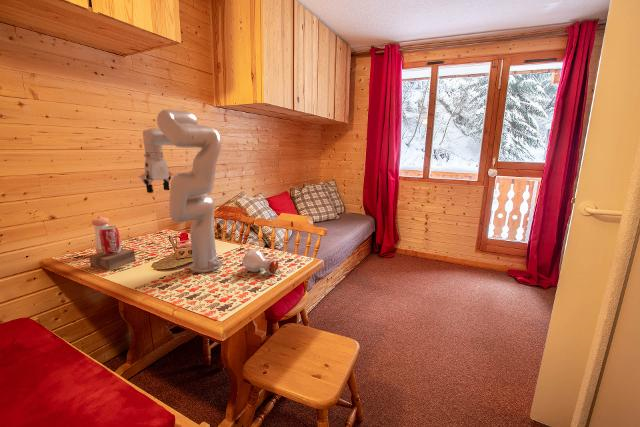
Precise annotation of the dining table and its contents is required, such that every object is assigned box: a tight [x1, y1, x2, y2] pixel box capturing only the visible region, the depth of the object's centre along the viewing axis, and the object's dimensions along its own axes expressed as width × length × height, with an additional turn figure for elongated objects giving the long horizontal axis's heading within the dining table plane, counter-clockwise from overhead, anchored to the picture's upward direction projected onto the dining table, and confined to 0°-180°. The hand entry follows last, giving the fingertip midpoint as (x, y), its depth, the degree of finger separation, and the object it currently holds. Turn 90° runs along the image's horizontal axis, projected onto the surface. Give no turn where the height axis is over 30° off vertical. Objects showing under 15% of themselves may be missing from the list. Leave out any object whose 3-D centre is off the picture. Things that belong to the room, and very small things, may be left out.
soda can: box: [99, 225, 122, 255], centre depth 132 cm, size 7×7×12 cm
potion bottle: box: [242, 249, 280, 275], centre depth 125 cm, size 9×10×15 cm
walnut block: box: [88, 248, 136, 272], centre depth 134 cm, size 12×12×5 cm
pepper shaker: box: [90, 215, 110, 254], centre depth 146 cm, size 7×7×19 cm
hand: (158, 191), depth 147 cm, fingers open, 9 cm apart
